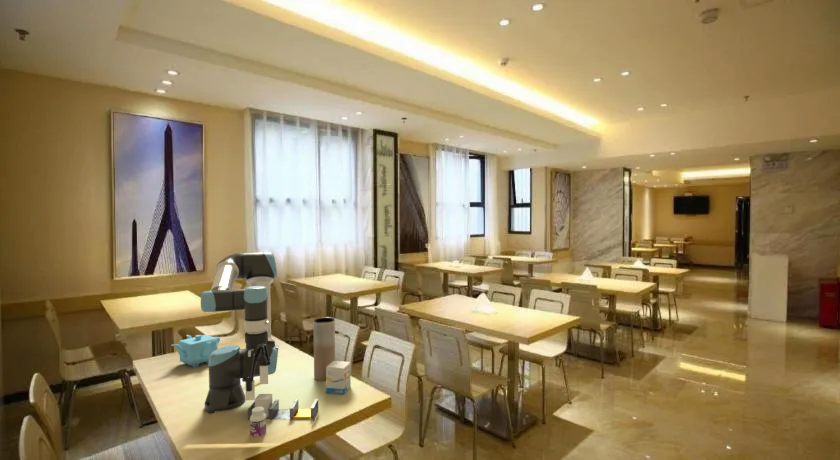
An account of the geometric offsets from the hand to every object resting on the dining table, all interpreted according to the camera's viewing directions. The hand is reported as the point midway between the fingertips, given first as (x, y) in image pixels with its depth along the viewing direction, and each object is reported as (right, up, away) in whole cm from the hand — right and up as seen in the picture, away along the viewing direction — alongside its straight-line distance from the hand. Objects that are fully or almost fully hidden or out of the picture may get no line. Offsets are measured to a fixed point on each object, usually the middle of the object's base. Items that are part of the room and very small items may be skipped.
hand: (257, 391), depth 147 cm
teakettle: (-60, -14, +74) cm, 96 cm away
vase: (+11, -14, +54) cm, 57 cm away
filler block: (-3, -15, +15) cm, 21 cm away
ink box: (+21, -15, +39) cm, 47 cm away
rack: (+5, -15, +15) cm, 22 cm away
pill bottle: (0, -16, +1) cm, 16 cm away
